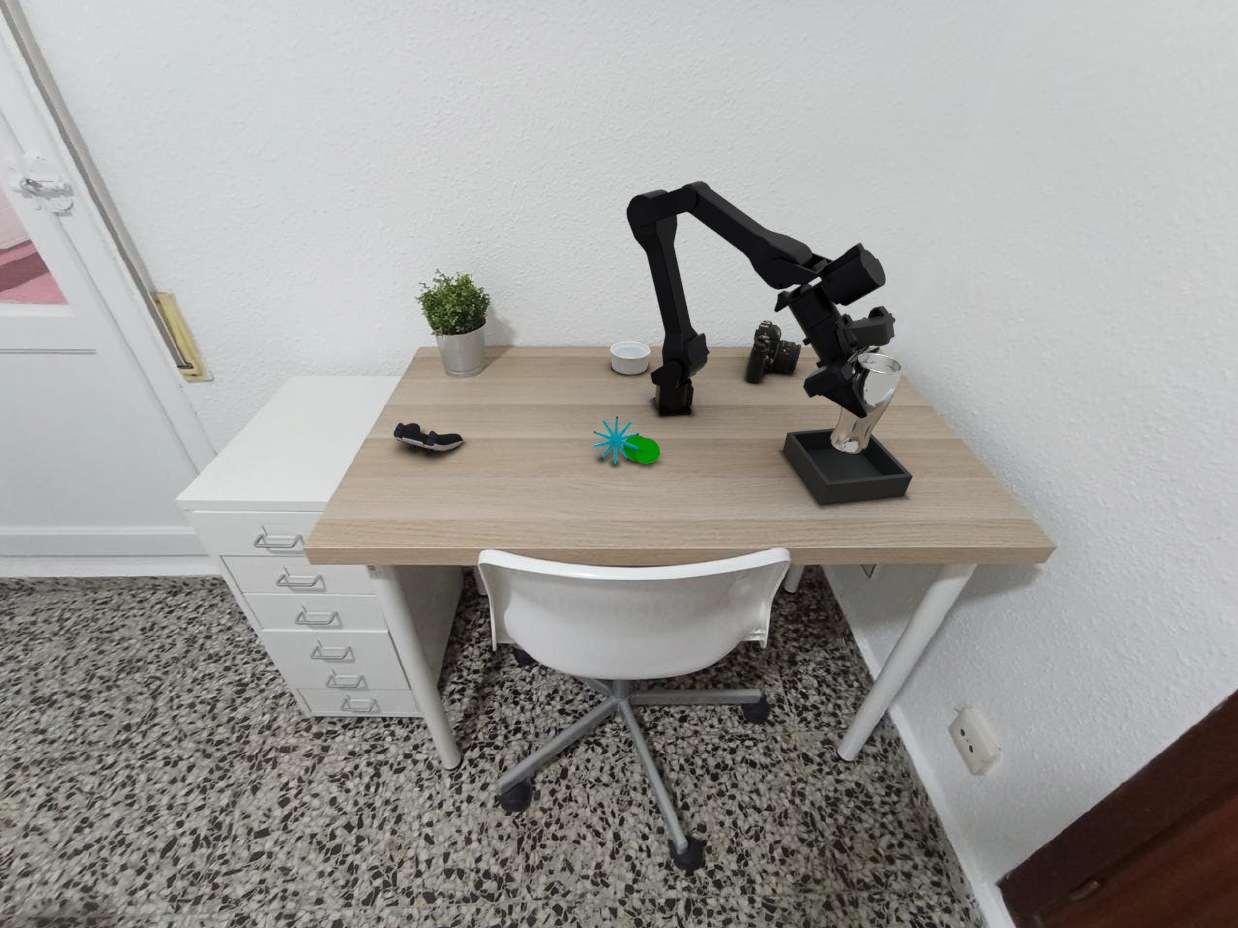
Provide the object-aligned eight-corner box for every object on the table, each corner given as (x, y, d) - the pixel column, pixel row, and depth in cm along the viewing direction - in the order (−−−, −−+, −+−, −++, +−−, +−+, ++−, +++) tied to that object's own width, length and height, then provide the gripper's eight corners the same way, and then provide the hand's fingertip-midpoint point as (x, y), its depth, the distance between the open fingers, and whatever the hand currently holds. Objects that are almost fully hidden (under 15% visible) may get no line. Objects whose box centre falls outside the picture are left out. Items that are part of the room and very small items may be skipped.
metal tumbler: (873, 461, 87) (909, 377, 78) (828, 453, 88) (859, 369, 79) (865, 436, 92) (899, 355, 83) (823, 430, 93) (852, 349, 84)
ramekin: (612, 356, 126) (613, 339, 124) (651, 360, 126) (652, 342, 123) (606, 374, 119) (607, 356, 117) (647, 378, 119) (648, 360, 116)
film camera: (806, 389, 116) (818, 345, 110) (748, 387, 116) (756, 344, 110) (787, 352, 131) (796, 311, 125) (735, 350, 130) (741, 310, 124)
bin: (820, 505, 86) (827, 484, 84) (782, 451, 98) (787, 432, 95) (904, 496, 89) (913, 476, 86) (857, 445, 100) (863, 425, 98)
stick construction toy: (585, 453, 92) (601, 409, 92) (586, 452, 99) (601, 411, 99) (652, 478, 93) (668, 434, 92) (648, 475, 100) (663, 434, 99)
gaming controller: (408, 447, 100) (383, 439, 93) (415, 423, 100) (391, 414, 94) (459, 460, 97) (437, 453, 90) (466, 436, 97) (444, 427, 91)
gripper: (848, 312, 71) (907, 414, 73) (888, 276, 83) (938, 364, 85) (778, 351, 79) (833, 441, 81) (824, 313, 92) (871, 392, 93)
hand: (871, 407), depth 85 cm, fingers closed on metal tumbler, 7 cm apart
